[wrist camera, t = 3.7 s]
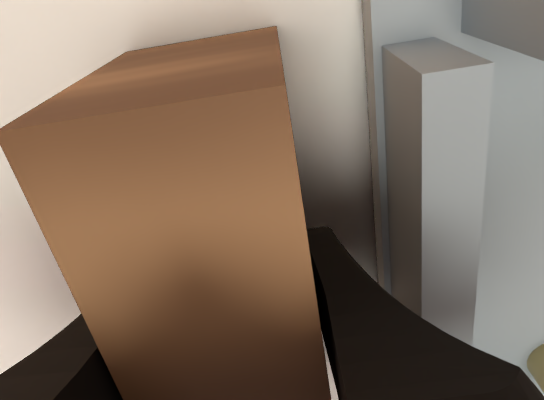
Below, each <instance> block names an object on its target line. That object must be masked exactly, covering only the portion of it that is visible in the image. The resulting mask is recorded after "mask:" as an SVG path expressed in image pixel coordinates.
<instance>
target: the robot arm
mask: <svg viewBox="0 0 544 400" xmlns="http://www.w3.org/2000/svg"><path fill="white" fill-rule="evenodd" d="M307 236H308V243H309V250H310V257H311V264H312V271H313V278H314V284H315V291H316V298H317V305H318V312H319V319H320V326H321V331H322V335H323V338H324V342H325V346H326V350H327V354H328V358H329V362H330V366H331V370H332V374H333V377H334V381H335V385H336V389H337V393H338V398H339V400H544V396H543V394H542V393H541V392H540V391H539V389H538V388H537V387H536V386H535V384H534V383H533V382H532V381H531V380H530V378H529V377H528V376H527V375H526V374H525V372H524V371H523V370H522V369H521V368H520V367H518V366H516V365H514V364H512V363H509V362H507V361H505V360H502V359H500V358H498V357H495V356H493V355H491V354H488V353H486V352H484V351H481V350H479V349H477V348H475V347H473V346H471V345H469V344H467V343H465V342H463V341H461V340H459V339H457V338H455V337H453V336H451V335H449V334H448V333H446V332H444V331H442V330H441V329H439V328H438V327H436V326H434V325H433V324H431V323H429V322H428V321H426V320H425V319H423V318H421V317H420V316H418V315H417V314H415V313H414V312H413V311H411V310H410V309H408V308H407V307H406V306H404V305H403V304H402V303H400V302H399V301H398V300H397V299H395V298H394V297H393V296H392V295H390V294H389V293H388V292H387V291H386V290H384V289H383V288H382V287H381V286H380V285H379V284H378V283H377V282H376V281H375V280H374V279H373V278H371V277H370V276H369V275H368V274H367V273H366V272H365V271H364V270H363V268H362V267H361V266H360V265H359V264H358V263H357V262H356V261H355V260H354V259H353V257H352V256H351V255H350V254H349V253H348V252H347V250H346V249H345V248H344V247H343V245H342V244H341V243H340V241H339V240H338V238H337V237H336V235H335V234H334V232H333V230H332V229H331V228H329V227H328V226H326V227H319V228H312V229H307ZM0 400H123V398H122V396H121V394H120V392H119V390H118V388H117V386H116V384H115V382H114V380H113V378H112V376H111V374H110V371H109V369H108V367H107V365H106V363H105V361H104V359H103V357H102V355H101V353H100V351H99V349H98V347H97V344H96V342H95V340H94V338H93V336H92V334H91V332H90V330H89V328H88V326H87V324H86V322H85V320H84V318H83V315H82V314H80V315H79V316H78V317H77V318H76V319H75V320H74V321H73V322H72V323H70V324H69V325H68V326H67V327H66V328H64V329H63V330H62V331H61V332H59V333H58V334H57V335H56V336H54V337H53V338H52V339H50V340H49V341H48V342H46V343H45V344H44V345H42V346H41V347H40V348H39V349H37V350H36V351H34V352H33V353H32V354H30V355H29V356H27V357H26V358H24V359H23V360H21V361H20V362H18V363H17V364H15V365H14V366H12V367H11V368H9V369H8V370H6V371H5V372H3V373H2V374H0Z"/></svg>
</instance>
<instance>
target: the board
mask: <svg viewBox="0 0 544 400" xmlns="http://www.w3.org/2000/svg"><path fill="white" fill-rule="evenodd" d="M0 145H1V147H2V149H3V151H4V153H5V156H6V158H7V160H8V162H9V164H10V166H11V168H12V170H13V172H14V174H15V176H16V178H17V180H18V183H19V185H20V187H21V189H22V191H23V193H24V195H25V197H26V199H27V201H28V203H29V205H30V207H31V210H32V212H33V214H34V216H35V218H36V220H37V222H38V224H39V226H40V228H41V230H42V232H43V234H44V237H45V239H46V241H47V243H48V245H49V247H50V249H51V251H52V253H53V255H54V257H55V259H56V261H57V264H58V266H59V268H60V270H61V272H62V274H63V276H64V278H65V280H66V282H67V284H68V286H69V288H70V291H71V293H72V295H73V297H74V299H75V301H76V303H77V305H78V307H79V309H80V311H81V313H82V315H83V318H84V320H85V322H86V324H87V326H88V328H89V330H90V332H91V334H92V336H93V338H94V340H95V342H96V344H97V347H98V349H99V351H100V353H101V355H102V357H103V359H104V361H105V363H106V365H107V367H108V369H109V371H110V374H111V376H112V378H113V380H114V382H115V384H116V386H117V388H118V390H119V392H120V394H121V396H122V398H123V400H331V395H330V388H329V381H328V374H327V367H326V360H325V353H324V346H323V340H322V333H321V326H320V319H319V312H318V305H317V298H316V291H315V284H314V278H313V271H312V264H311V257H310V250H309V243H308V236H307V229H306V223H305V216H304V209H303V202H302V195H301V188H300V181H299V174H298V167H297V161H296V154H295V147H294V140H293V133H292V126H291V119H290V112H289V105H288V99H287V92H286V85H285V78H284V72H283V65H282V59H281V53H280V46H279V40H278V33H277V27H276V26H274V27H268V28H262V29H256V30H250V31H245V32H239V33H233V34H227V35H222V36H216V37H210V38H204V39H198V40H193V41H187V42H181V43H175V44H169V45H164V46H158V47H152V48H146V49H140V50H135V51H129V52H125V53H124V54H122V55H120V56H119V57H117V58H115V59H114V60H112V61H110V62H109V63H107V64H106V65H104V66H102V67H101V68H99V69H97V70H96V71H94V72H92V73H91V74H89V75H87V76H86V77H84V78H83V79H81V80H79V81H78V82H76V83H74V84H73V85H71V86H69V87H68V88H66V89H64V90H63V91H61V92H60V93H58V94H56V95H55V96H53V97H51V98H50V99H48V100H46V101H45V102H43V103H41V104H40V105H38V106H37V107H35V108H33V109H32V110H30V111H28V112H27V113H25V114H23V115H22V116H20V117H18V118H17V119H15V120H13V121H12V122H10V123H9V124H7V125H5V126H4V127H2V128H0Z"/></svg>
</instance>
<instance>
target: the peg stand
mask: <svg viewBox="0 0 544 400" xmlns="http://www.w3.org/2000/svg"><path fill="white" fill-rule="evenodd" d="M362 10H363V27H364V45H365V62H366V79H367V97H368V114H369V131H370V149H371V166H372V183H373V201H374V218H375V236H376V253H377V270H378V284H379V285H380V286H381V287H382V288H383V289H384V290H386V291H387V292H388V293H389V294H390V295H392V296H393V297H394V298H395V299H397V300H398V301H399V302H400V303H402V304H403V305H404V306H406V307H407V308H408V309H410V310H411V311H413V312H414V313H415V314H417V315H418V316H420V317H421V318H423V319H425V320H426V321H428V322H429V323H431V324H433V325H434V326H436V327H438V328H439V329H441V330H442V331H444V332H446V333H448V334H449V335H451V336H453V337H455V338H457V339H459V340H461V341H463V342H465V343H467V344H469V345H471V346H473V347H475V348H477V349H479V350H481V351H484V352H486V353H488V354H491V355H493V356H495V357H498V358H500V359H502V360H505V361H507V362H509V363H512V364H514V365H516V366H518V367H520V368H521V369H522V370H523V371H524V372H525V374H526V375H527V376H528V377H529V378H530V380H531V381H532V382H533V383H534V384H535V386H536V387H537V388H538V389H539V391H540V392H541V393H542V394H543V396H544V0H362Z"/></svg>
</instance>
